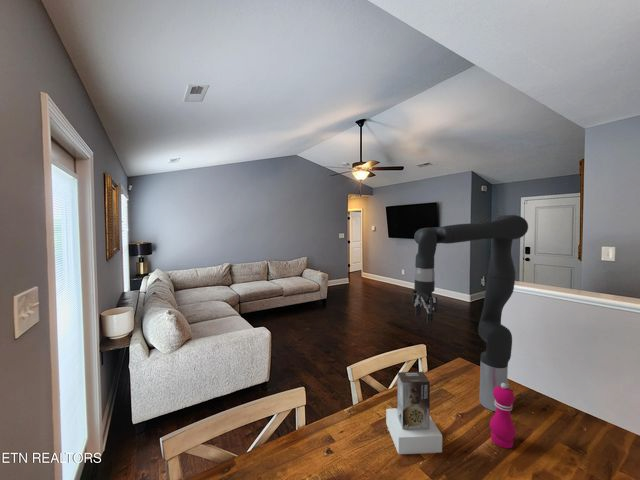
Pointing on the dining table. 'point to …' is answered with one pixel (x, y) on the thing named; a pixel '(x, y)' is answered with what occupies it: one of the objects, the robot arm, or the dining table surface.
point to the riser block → (413, 436)
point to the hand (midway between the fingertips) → (423, 319)
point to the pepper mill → (502, 417)
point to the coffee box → (413, 400)
